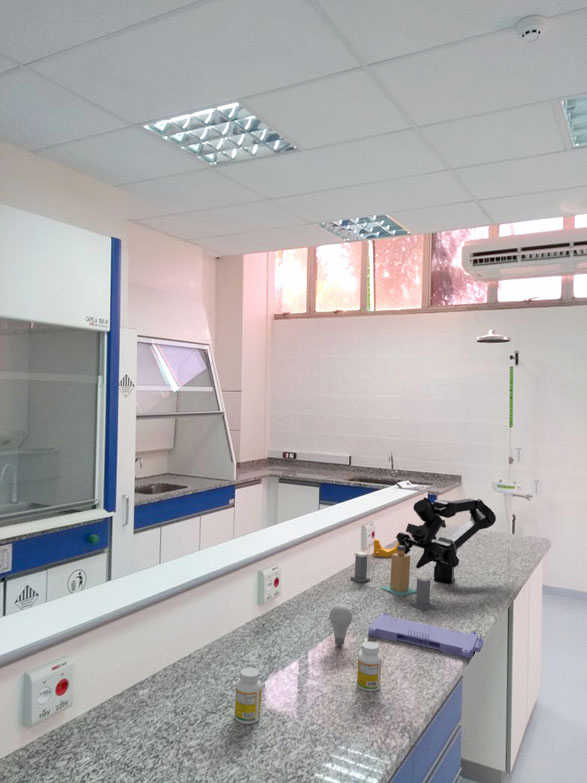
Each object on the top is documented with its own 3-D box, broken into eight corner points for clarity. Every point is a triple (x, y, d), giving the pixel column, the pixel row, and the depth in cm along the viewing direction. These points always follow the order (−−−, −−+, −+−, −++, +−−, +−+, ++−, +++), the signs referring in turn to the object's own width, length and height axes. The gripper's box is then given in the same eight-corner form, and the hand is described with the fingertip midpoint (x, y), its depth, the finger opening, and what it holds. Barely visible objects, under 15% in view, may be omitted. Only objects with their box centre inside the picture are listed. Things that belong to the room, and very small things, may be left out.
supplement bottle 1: (247, 728, 121) (249, 680, 121) (229, 717, 124) (231, 671, 124) (265, 717, 125) (267, 671, 125) (247, 708, 128) (249, 663, 128)
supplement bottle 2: (365, 678, 144) (366, 638, 144) (384, 686, 140) (386, 645, 140) (352, 686, 140) (354, 644, 140) (372, 694, 136) (374, 652, 136)
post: (421, 602, 198) (423, 573, 198) (433, 607, 194) (435, 577, 193) (411, 605, 195) (412, 575, 195) (423, 610, 191) (424, 579, 191)
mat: (399, 584, 215) (399, 583, 215) (417, 592, 208) (417, 591, 208) (380, 588, 210) (381, 587, 210) (399, 596, 203) (399, 595, 203)
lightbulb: (353, 643, 163) (355, 603, 163) (347, 652, 157) (349, 611, 157) (331, 639, 165) (333, 599, 165) (325, 648, 159) (327, 607, 159)
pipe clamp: (373, 556, 251) (374, 541, 251) (373, 553, 255) (374, 538, 255) (402, 558, 250) (403, 543, 250) (401, 555, 254) (402, 540, 254)
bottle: (399, 586, 212) (401, 544, 212) (408, 590, 208) (410, 547, 208) (390, 588, 210) (392, 545, 210) (399, 592, 206) (401, 548, 206)
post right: (360, 577, 222) (362, 550, 222) (370, 580, 218) (371, 554, 218) (350, 579, 219) (351, 552, 219) (359, 583, 215) (361, 555, 215)
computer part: (476, 664, 155) (484, 643, 168) (477, 648, 155) (485, 628, 168) (365, 638, 168) (381, 621, 181) (366, 623, 168) (382, 607, 181)
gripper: (400, 510, 221) (377, 544, 215) (439, 520, 206) (416, 557, 200) (414, 529, 226) (392, 562, 220) (453, 540, 211) (431, 576, 205)
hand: (407, 564), depth 211 cm, fingers open, 9 cm apart
